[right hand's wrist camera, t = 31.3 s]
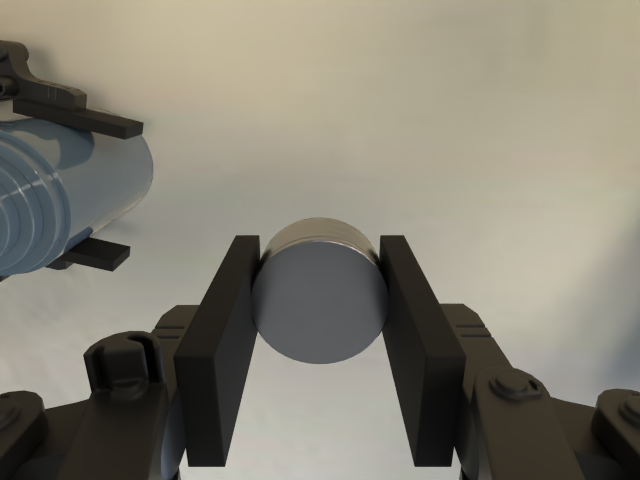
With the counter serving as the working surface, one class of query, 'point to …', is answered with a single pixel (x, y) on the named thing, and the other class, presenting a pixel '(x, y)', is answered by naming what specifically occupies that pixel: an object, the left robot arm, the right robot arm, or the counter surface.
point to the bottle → (62, 188)
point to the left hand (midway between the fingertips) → (127, 198)
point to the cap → (319, 292)
